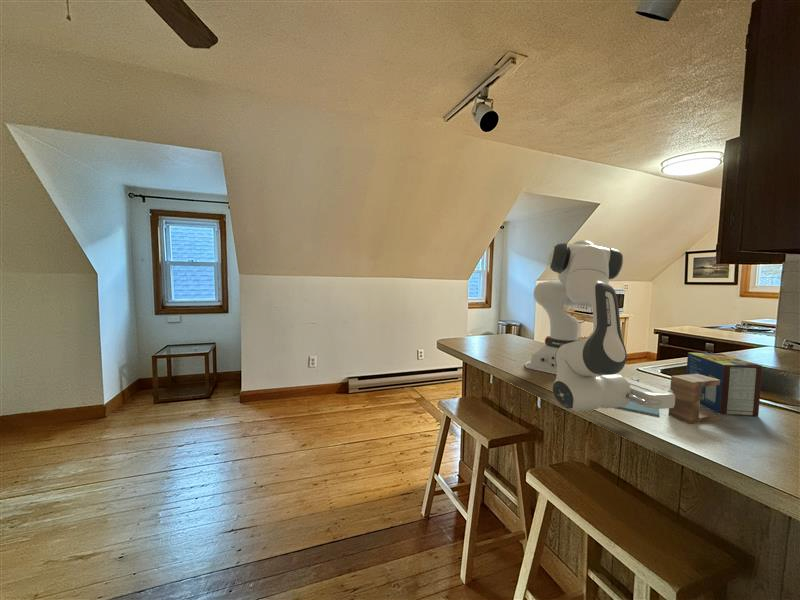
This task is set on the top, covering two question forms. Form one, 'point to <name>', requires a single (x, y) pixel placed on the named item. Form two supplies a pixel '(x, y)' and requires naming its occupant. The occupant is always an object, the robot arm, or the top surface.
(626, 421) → the top surface
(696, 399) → the brown block
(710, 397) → the protein box
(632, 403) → the rubber mat
